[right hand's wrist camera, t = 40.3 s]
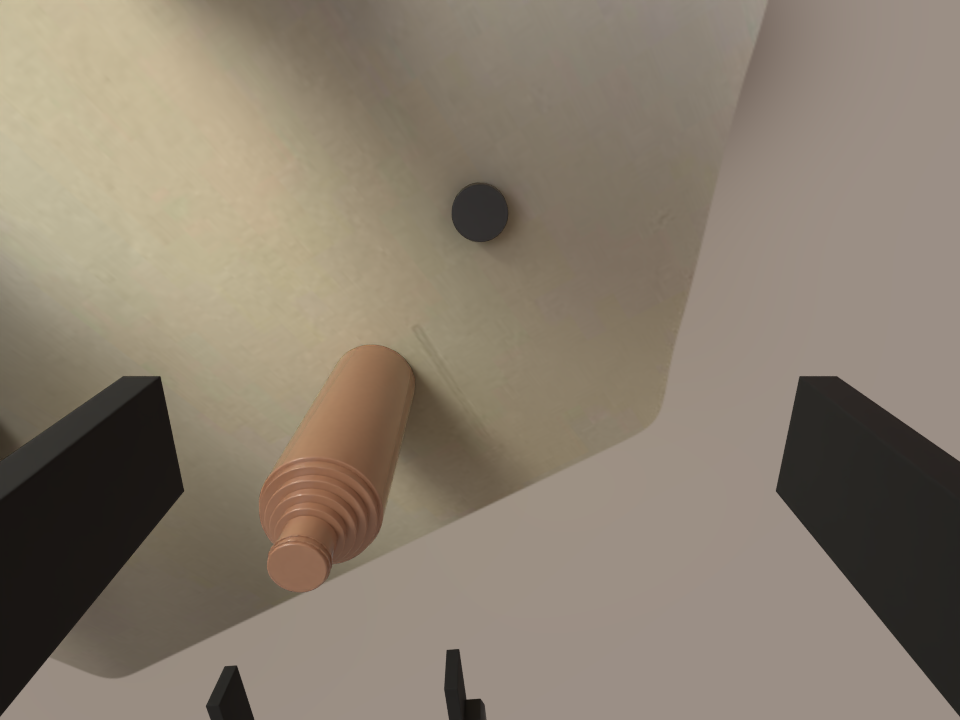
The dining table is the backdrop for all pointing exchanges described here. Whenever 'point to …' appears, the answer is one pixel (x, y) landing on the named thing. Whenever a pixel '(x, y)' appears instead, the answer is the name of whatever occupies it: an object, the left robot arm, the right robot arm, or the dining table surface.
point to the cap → (479, 212)
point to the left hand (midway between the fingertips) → (336, 676)
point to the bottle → (337, 469)
